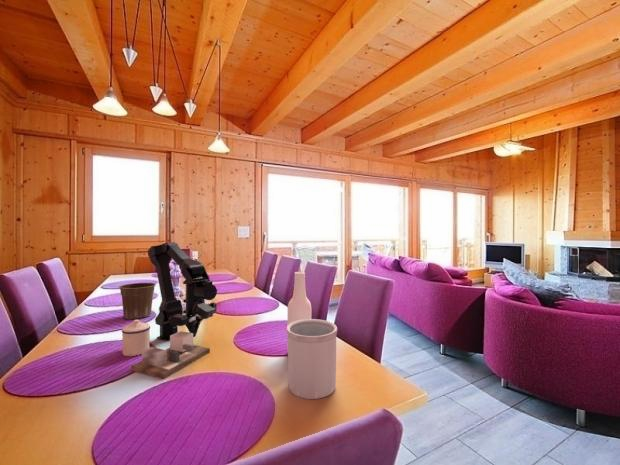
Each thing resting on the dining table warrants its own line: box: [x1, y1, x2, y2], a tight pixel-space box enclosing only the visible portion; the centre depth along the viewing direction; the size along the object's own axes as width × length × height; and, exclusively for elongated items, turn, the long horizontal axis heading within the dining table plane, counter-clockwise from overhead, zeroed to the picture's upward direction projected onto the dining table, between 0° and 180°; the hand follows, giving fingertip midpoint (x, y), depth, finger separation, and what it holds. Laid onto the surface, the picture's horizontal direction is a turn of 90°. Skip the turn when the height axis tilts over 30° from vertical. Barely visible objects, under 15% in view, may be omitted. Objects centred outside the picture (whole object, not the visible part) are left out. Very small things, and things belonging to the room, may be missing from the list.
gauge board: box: [130, 344, 211, 380], centre depth 100 cm, size 14×20×6 cm
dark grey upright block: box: [169, 350, 179, 362], centre depth 96 cm, size 3×1×3 cm, turn 69°
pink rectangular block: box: [169, 330, 195, 352], centre depth 106 cm, size 10×5×5 cm, turn 69°
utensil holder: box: [286, 318, 338, 400], centre depth 85 cm, size 15×15×18 cm
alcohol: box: [286, 271, 312, 353], centre depth 107 cm, size 9×9×30 cm
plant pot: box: [118, 282, 156, 320], centre depth 150 cm, size 16×16×16 cm
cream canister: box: [121, 319, 151, 357], centre depth 108 cm, size 12×9×12 cm
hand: (193, 336), depth 112 cm, fingers closed
